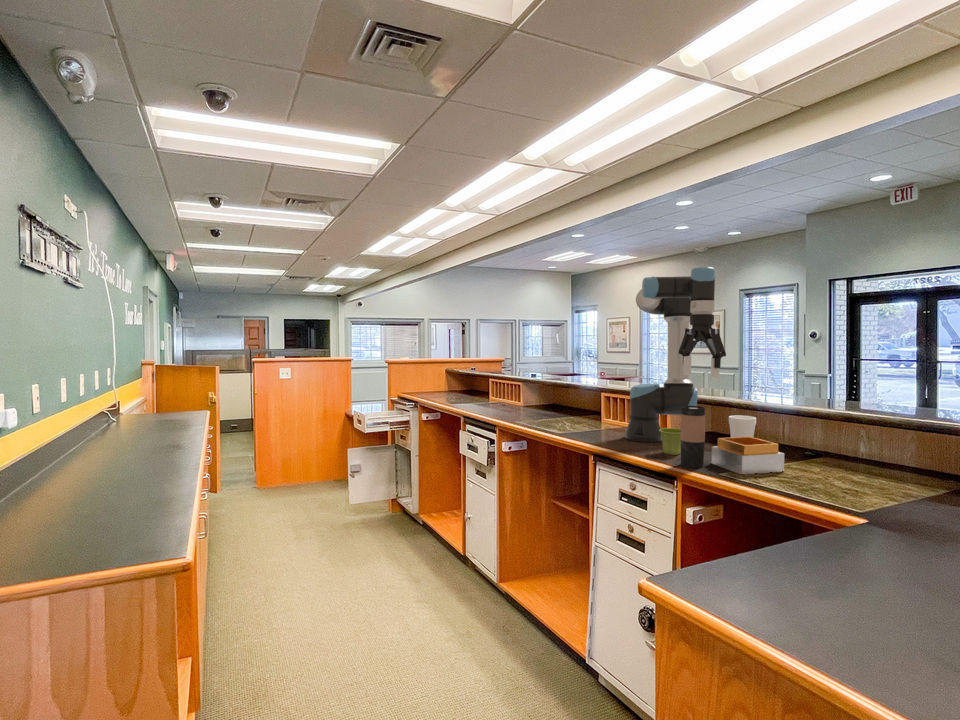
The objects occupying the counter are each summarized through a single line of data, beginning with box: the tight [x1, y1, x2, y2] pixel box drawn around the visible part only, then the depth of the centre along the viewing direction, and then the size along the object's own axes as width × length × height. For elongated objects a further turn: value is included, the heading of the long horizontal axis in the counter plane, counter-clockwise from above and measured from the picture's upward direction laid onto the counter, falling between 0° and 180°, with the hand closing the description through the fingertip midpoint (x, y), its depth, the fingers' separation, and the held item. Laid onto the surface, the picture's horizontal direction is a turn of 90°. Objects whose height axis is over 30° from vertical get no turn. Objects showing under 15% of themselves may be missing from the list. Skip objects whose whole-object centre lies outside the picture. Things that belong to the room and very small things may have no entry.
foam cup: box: [728, 414, 757, 438], centre depth 209 cm, size 10×9×13 cm
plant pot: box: [659, 427, 681, 456], centre depth 205 cm, size 9×9×9 cm
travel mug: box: [680, 405, 706, 469], centre depth 186 cm, size 8×8×20 cm
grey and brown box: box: [710, 436, 785, 475], centre depth 184 cm, size 15×21×9 cm
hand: (700, 376), depth 186 cm, fingers open, 13 cm apart
